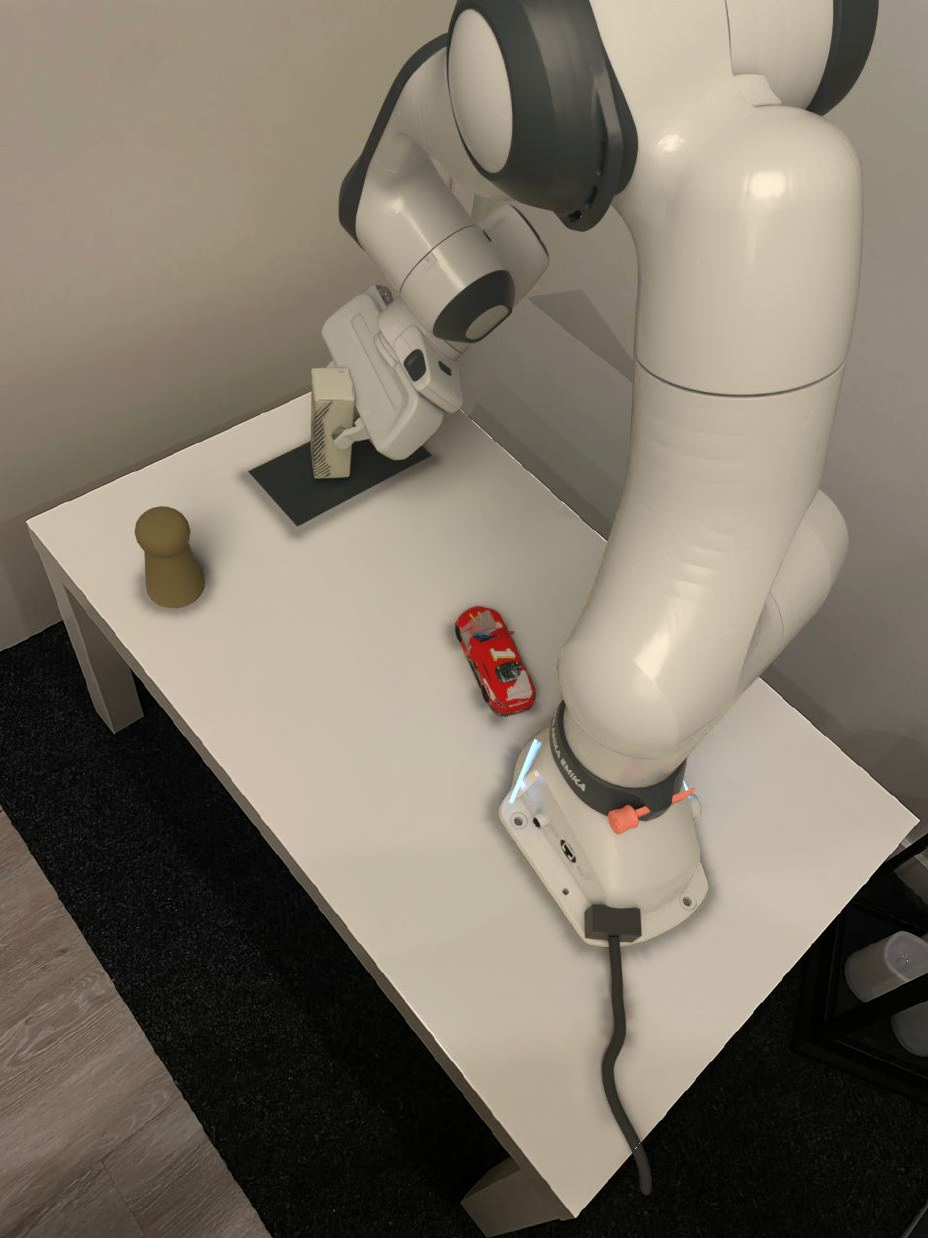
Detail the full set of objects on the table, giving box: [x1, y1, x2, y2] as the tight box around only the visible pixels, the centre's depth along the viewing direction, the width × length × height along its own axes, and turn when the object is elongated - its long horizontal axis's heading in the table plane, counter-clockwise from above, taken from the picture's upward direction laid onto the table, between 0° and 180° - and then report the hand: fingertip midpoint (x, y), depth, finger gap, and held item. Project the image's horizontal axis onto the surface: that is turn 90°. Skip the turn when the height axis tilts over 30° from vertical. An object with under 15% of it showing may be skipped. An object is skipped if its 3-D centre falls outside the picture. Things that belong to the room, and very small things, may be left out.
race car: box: [454, 605, 536, 718], centre depth 92 cm, size 13×5×4 cm, turn 20°
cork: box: [134, 505, 206, 609], centre depth 89 cm, size 6×6×11 cm
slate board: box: [247, 417, 432, 528], centre depth 105 cm, size 20×10×1 cm, turn 131°
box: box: [310, 367, 356, 478], centre depth 98 cm, size 5×4×13 cm
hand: (326, 421), depth 97 cm, fingers closed on box, 5 cm apart
